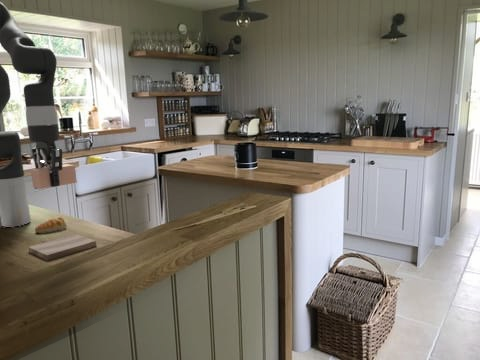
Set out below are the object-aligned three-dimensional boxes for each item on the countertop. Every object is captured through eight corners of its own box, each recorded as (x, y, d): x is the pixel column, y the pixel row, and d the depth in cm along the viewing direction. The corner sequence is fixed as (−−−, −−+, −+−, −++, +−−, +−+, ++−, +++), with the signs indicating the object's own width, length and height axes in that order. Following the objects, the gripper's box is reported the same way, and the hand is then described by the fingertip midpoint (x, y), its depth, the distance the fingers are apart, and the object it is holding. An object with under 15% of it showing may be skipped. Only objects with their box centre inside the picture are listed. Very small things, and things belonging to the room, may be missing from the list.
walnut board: (29, 251, 115) (28, 246, 115) (76, 238, 125) (75, 234, 125) (47, 260, 107) (46, 255, 107) (96, 245, 117) (95, 240, 117)
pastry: (40, 236, 131) (38, 224, 130) (32, 232, 135) (30, 221, 135) (68, 228, 138) (67, 218, 137) (60, 225, 142) (58, 215, 142)
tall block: (68, 181, 119) (33, 187, 111) (66, 164, 118) (30, 169, 110) (76, 182, 115) (40, 189, 108) (74, 165, 114) (38, 170, 107)
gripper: (17, 124, 111) (26, 185, 114) (39, 124, 102) (48, 190, 105) (45, 123, 117) (52, 181, 120) (68, 122, 107) (76, 185, 110)
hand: (50, 185), depth 112 cm, fingers closed on tall block, 5 cm apart
